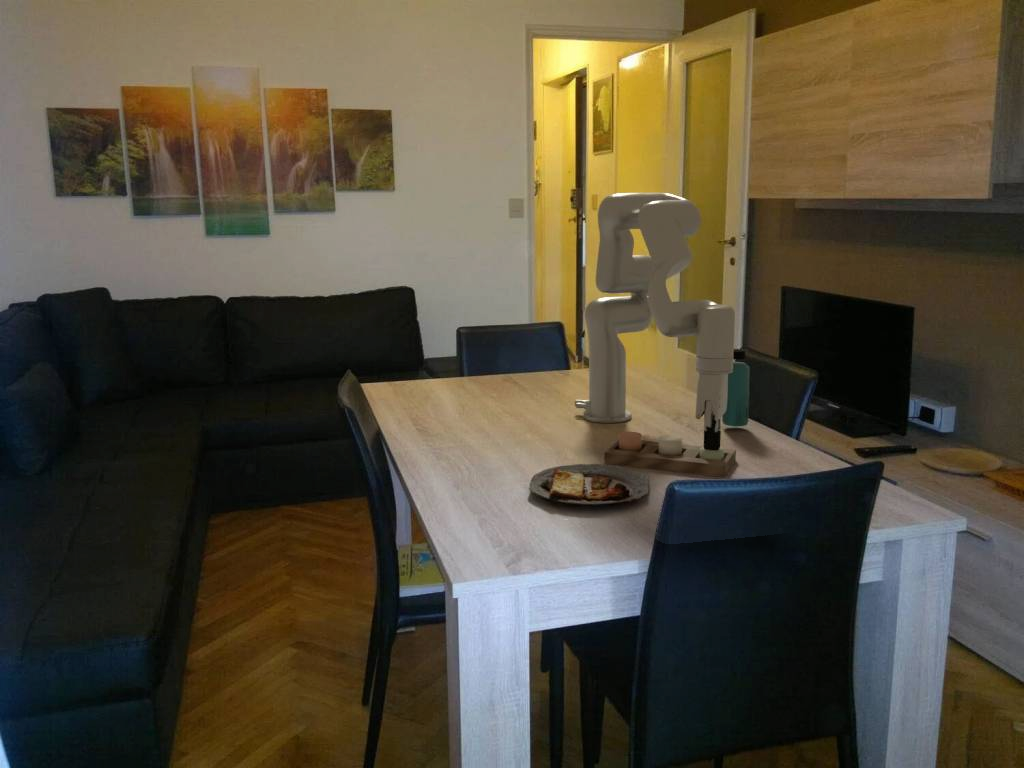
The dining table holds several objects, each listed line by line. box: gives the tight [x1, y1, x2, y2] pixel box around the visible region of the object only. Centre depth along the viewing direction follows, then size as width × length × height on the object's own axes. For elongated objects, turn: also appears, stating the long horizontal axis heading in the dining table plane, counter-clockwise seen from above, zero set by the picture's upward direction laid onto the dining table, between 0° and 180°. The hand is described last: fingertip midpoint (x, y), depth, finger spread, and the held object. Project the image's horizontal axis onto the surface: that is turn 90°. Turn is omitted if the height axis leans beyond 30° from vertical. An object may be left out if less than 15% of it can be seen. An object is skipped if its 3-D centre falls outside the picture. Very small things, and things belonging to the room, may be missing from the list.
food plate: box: [528, 463, 650, 507], centre depth 170 cm, size 25×23×4 cm
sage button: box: [700, 446, 725, 461], centre depth 183 cm, size 5×5×4 cm
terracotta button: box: [618, 431, 643, 452], centre depth 190 cm, size 5×5×4 cm
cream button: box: [658, 435, 683, 456], centre depth 186 cm, size 5×5×4 cm
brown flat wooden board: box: [603, 439, 737, 478], centre depth 187 cm, size 26×12×2 cm, turn 65°
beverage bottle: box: [721, 348, 751, 427], centre depth 210 cm, size 6×7×20 cm
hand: (711, 448), depth 183 cm, fingers closed
